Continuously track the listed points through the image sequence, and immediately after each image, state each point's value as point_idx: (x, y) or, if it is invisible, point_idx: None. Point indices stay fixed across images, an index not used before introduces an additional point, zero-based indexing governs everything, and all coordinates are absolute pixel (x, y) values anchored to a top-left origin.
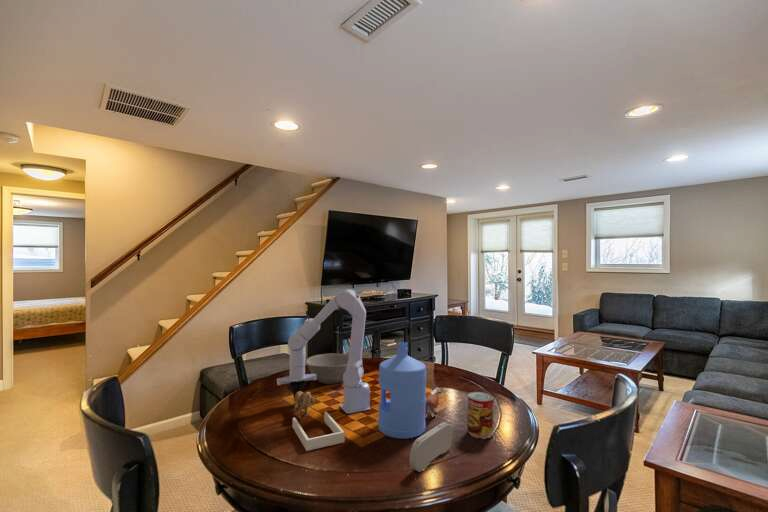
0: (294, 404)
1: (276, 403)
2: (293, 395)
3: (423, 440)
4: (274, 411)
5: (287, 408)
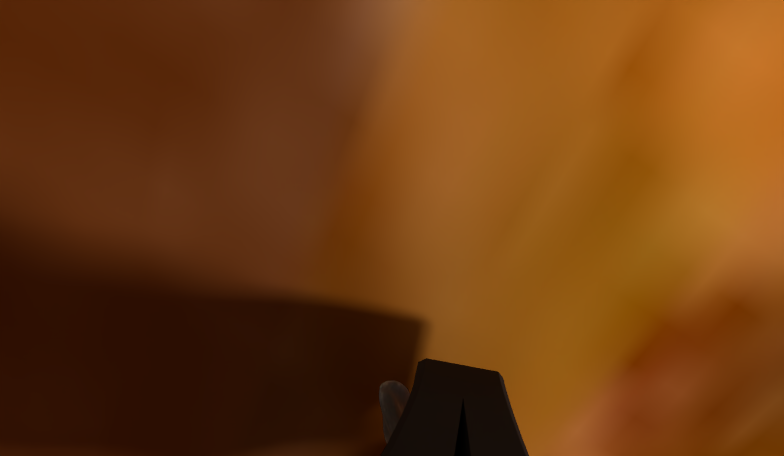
0: (383, 416)
1: (93, 44)
2: (395, 428)
3: None
4: (20, 365)
5: (249, 383)
